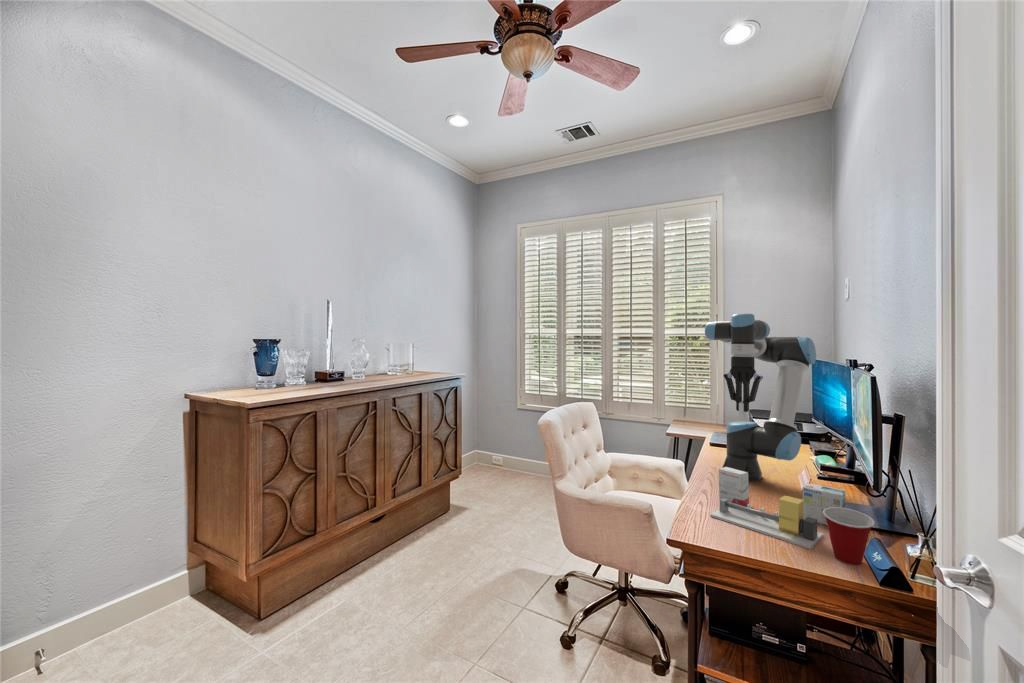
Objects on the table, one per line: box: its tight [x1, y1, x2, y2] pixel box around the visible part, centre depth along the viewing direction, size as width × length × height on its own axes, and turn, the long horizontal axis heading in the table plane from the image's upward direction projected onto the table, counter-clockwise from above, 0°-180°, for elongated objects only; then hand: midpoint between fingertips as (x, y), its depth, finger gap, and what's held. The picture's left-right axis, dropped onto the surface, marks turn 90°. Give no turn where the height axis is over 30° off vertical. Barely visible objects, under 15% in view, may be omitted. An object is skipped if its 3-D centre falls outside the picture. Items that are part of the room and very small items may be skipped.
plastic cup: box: [823, 507, 875, 566], centre depth 110 cm, size 11×11×12 cm
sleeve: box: [778, 495, 804, 535], centre depth 125 cm, size 5×5×9 cm
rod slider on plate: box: [710, 498, 824, 550], centre depth 130 cm, size 28×12×6 cm, turn 39°
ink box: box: [718, 467, 750, 507], centre depth 149 cm, size 9×5×12 cm, turn 33°
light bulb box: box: [802, 482, 846, 526], centre depth 134 cm, size 11×7×11 cm, turn 45°
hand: (742, 420), depth 151 cm, fingers closed
